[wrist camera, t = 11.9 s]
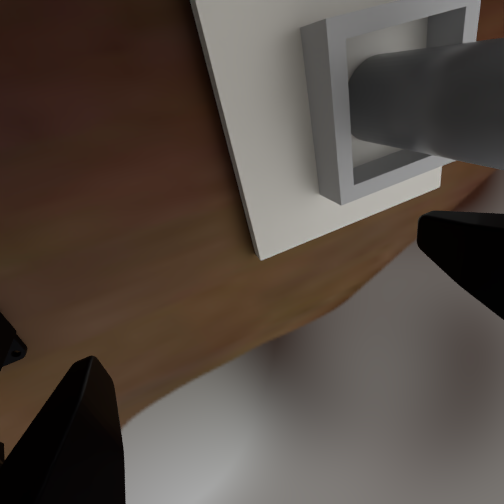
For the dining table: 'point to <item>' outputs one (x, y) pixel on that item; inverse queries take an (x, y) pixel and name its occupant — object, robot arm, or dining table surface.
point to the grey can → (434, 101)
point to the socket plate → (315, 106)
